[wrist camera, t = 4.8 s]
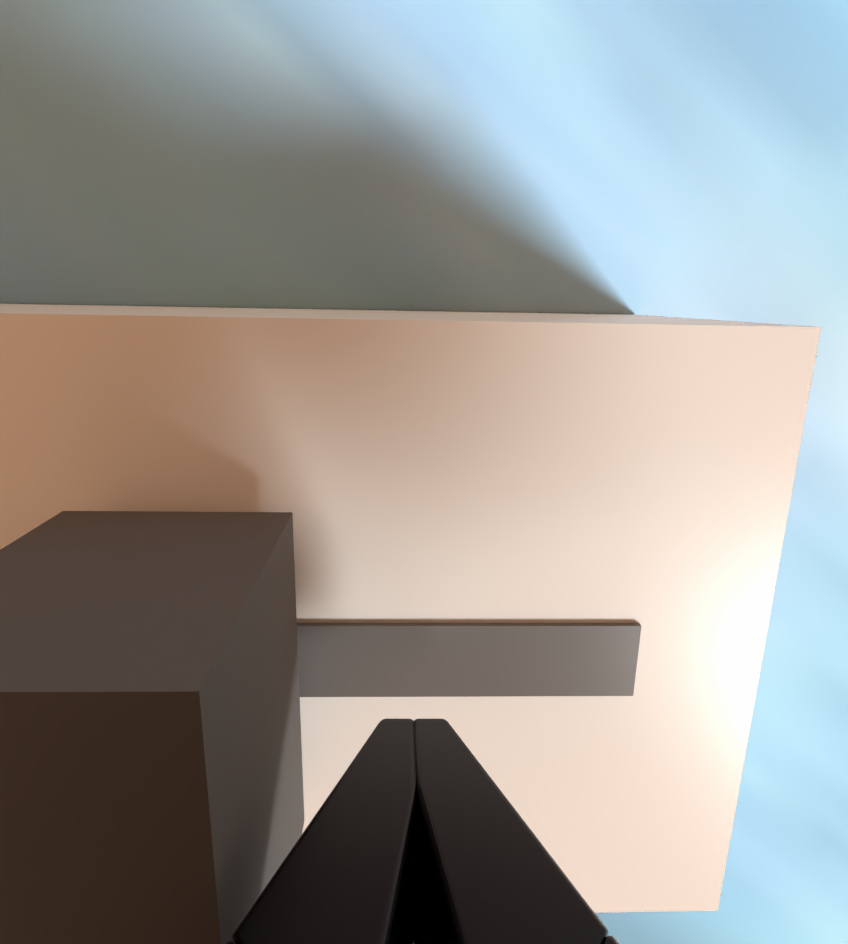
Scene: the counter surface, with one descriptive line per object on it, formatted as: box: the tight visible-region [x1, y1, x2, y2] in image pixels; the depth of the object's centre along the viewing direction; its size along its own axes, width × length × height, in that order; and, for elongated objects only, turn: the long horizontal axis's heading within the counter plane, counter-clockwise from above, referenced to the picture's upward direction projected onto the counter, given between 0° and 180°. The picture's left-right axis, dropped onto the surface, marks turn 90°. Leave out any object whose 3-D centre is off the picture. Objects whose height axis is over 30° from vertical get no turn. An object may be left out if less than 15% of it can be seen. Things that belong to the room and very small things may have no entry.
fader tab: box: [0, 511, 304, 944], centre depth 7 cm, size 5×3×4 cm, turn 179°
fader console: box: [0, 304, 821, 913], centre depth 13 cm, size 10×22×7 cm, turn 89°
